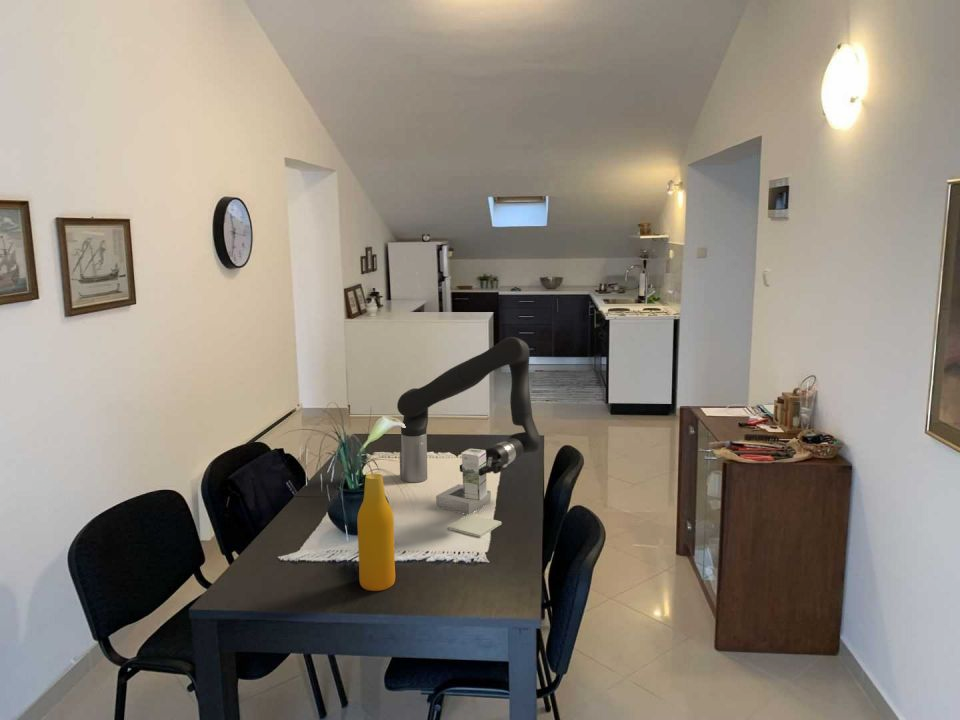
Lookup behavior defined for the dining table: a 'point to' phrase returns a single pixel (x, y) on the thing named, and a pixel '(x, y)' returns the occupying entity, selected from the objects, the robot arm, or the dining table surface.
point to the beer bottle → (375, 537)
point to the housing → (460, 501)
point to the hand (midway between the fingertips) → (470, 470)
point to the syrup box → (474, 474)
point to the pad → (474, 525)
